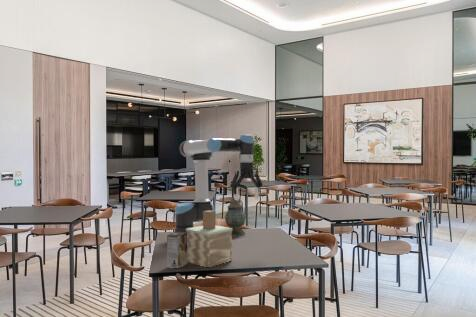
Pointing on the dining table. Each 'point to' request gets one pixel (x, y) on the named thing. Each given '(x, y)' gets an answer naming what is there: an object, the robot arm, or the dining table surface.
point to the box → (209, 248)
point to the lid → (209, 225)
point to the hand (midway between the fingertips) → (246, 199)
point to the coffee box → (176, 250)
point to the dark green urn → (235, 218)
